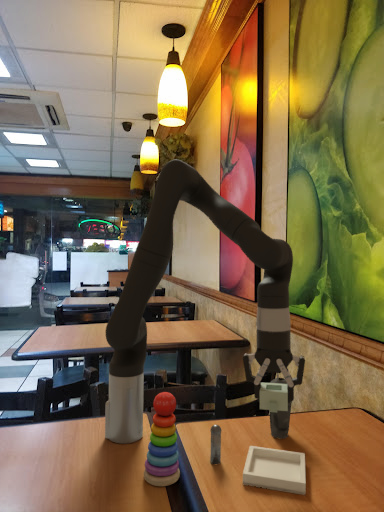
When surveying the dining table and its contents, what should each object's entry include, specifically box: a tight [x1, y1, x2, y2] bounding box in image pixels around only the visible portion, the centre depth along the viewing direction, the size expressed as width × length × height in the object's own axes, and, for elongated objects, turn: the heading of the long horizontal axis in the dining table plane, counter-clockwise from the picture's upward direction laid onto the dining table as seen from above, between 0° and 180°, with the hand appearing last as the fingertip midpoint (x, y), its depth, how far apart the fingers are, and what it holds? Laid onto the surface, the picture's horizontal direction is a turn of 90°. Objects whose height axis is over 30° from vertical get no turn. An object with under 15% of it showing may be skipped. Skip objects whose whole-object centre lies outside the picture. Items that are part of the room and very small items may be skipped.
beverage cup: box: [268, 373, 293, 440], centre depth 109 cm, size 7×7×20 cm
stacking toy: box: [143, 391, 181, 487], centre depth 88 cm, size 8×8×19 cm
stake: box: [210, 424, 222, 465], centre depth 95 cm, size 3×3×9 cm
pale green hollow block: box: [259, 381, 288, 413], centre depth 89 cm, size 7×6×4 cm
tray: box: [242, 445, 307, 496], centre depth 90 cm, size 13×13×2 cm
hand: (273, 401), depth 90 cm, fingers closed on pale green hollow block, 6 cm apart
